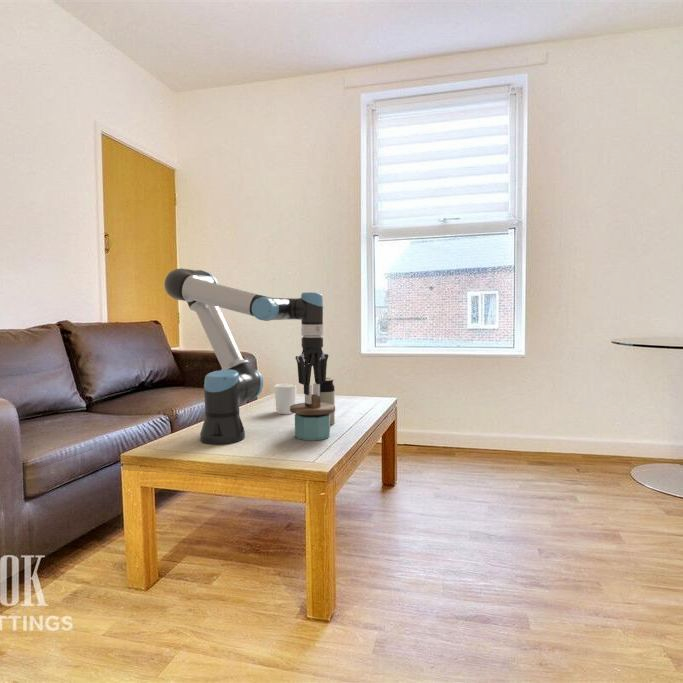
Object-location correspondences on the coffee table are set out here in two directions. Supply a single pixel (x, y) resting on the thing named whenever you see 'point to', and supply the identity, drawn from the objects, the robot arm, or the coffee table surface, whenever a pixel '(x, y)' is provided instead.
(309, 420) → the bowl
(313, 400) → the lid
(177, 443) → the coffee table surface
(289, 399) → the candle holder
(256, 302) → the robot arm
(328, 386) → the travel mug
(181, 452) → the coffee table surface
